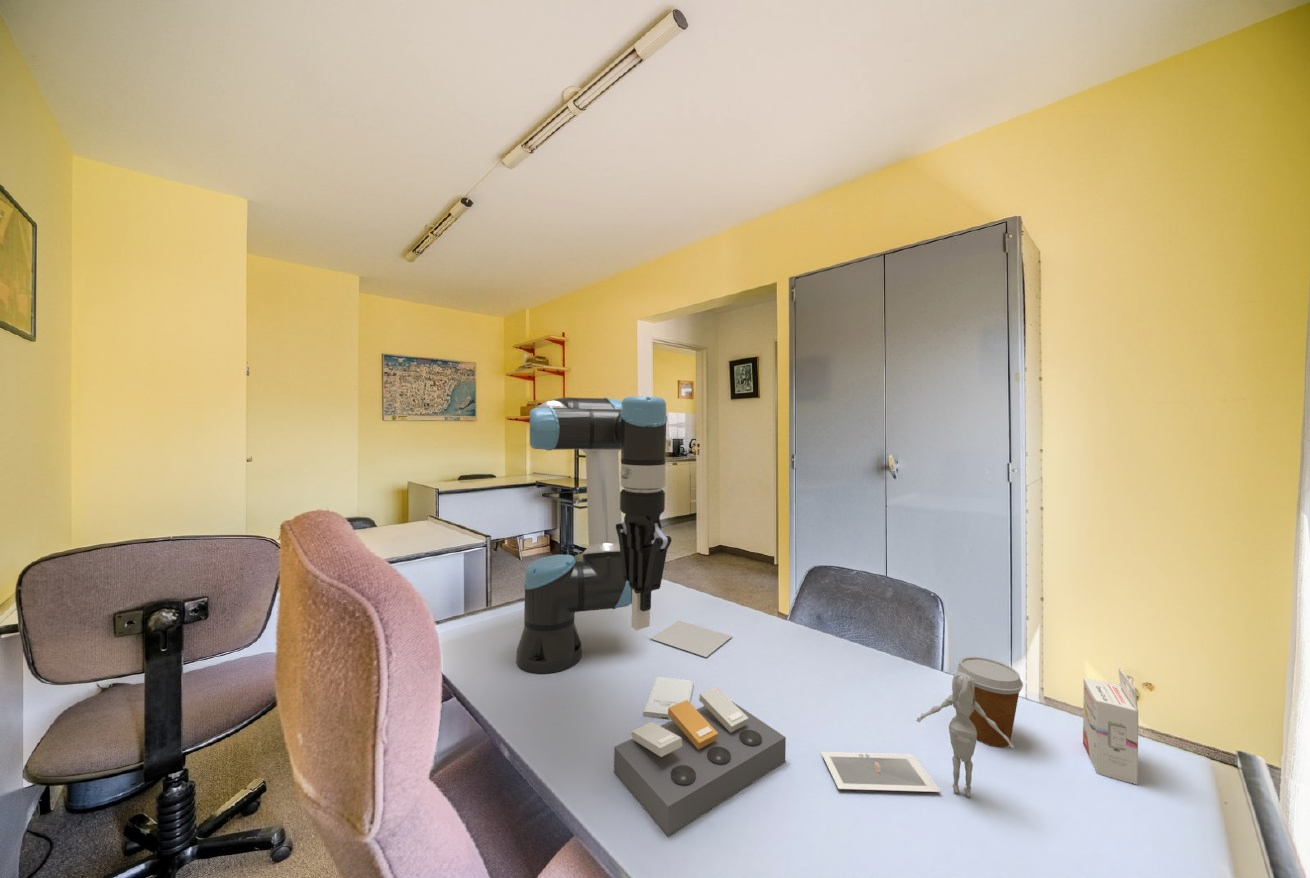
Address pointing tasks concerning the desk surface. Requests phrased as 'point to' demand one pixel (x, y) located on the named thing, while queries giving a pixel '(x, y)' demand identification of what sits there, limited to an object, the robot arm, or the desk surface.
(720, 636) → the paper stack
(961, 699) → the human figurine
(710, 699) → the block
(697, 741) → the orange labeled box
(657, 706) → the external hard drive
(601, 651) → the desk surface
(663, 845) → the desk surface
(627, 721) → the desk surface
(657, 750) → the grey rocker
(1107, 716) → the ink cartridge box
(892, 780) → the white picture frame
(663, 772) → the rocker switch box
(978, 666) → the disposable coffee cup
